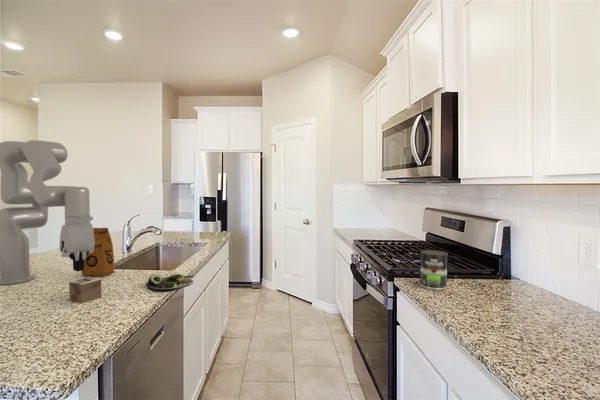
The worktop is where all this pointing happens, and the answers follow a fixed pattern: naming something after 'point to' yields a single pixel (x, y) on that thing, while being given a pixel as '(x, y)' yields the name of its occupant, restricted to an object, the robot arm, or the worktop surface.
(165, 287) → the salad plate
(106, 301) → the worktop surface
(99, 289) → the letter block
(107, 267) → the coffee package
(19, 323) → the worktop surface
